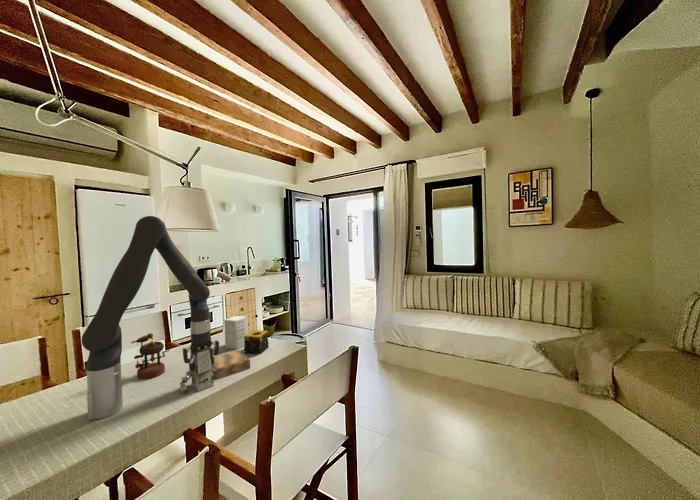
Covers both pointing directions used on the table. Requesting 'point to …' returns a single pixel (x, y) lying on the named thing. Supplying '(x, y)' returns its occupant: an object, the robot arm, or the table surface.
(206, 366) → the coffee box
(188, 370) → the bolt
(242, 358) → the stand
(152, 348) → the music box
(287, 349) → the table surface
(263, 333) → the yellow black tissue box
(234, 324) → the supplement box
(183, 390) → the bolt
